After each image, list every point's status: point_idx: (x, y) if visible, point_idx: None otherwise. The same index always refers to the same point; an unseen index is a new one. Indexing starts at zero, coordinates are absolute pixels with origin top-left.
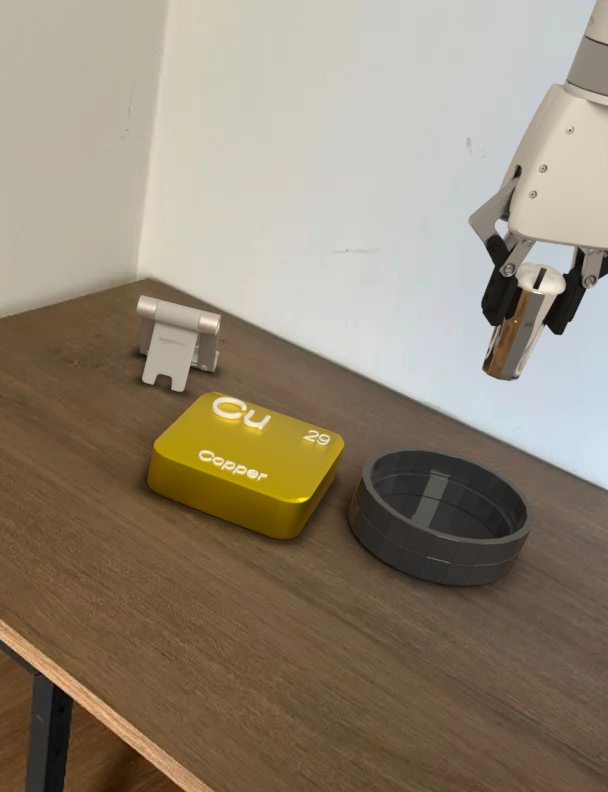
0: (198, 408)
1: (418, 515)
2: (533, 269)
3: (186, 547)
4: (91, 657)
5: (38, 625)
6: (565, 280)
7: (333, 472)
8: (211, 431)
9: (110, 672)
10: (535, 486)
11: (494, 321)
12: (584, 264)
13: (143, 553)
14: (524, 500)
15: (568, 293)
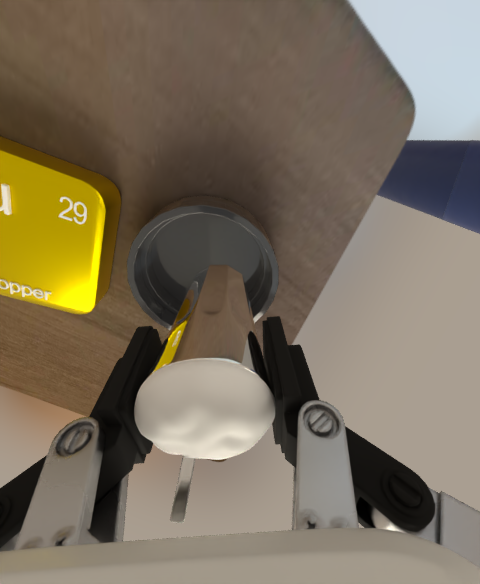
0: None
1: (199, 241)
2: (180, 443)
3: (42, 315)
4: (40, 391)
5: (6, 381)
6: (276, 417)
7: (112, 224)
8: None
9: (53, 396)
10: (341, 135)
11: None
12: (292, 509)
13: (21, 326)
14: (273, 275)
15: (273, 426)
